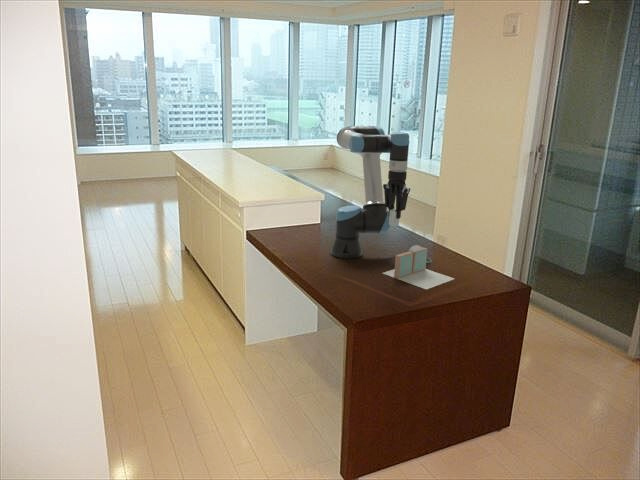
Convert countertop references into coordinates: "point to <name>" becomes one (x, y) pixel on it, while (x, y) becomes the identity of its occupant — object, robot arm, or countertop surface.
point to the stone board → (423, 278)
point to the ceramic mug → (418, 248)
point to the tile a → (403, 265)
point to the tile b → (419, 260)
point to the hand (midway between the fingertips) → (393, 224)
